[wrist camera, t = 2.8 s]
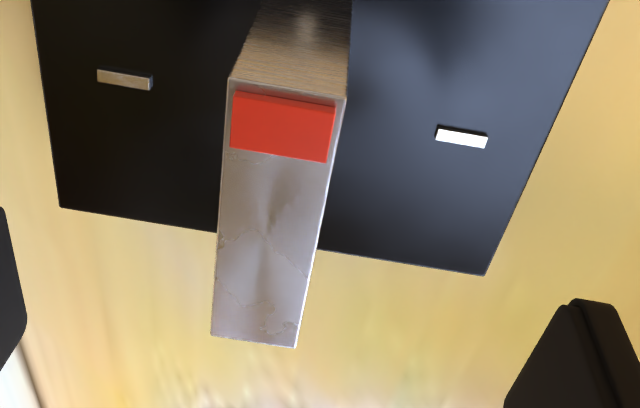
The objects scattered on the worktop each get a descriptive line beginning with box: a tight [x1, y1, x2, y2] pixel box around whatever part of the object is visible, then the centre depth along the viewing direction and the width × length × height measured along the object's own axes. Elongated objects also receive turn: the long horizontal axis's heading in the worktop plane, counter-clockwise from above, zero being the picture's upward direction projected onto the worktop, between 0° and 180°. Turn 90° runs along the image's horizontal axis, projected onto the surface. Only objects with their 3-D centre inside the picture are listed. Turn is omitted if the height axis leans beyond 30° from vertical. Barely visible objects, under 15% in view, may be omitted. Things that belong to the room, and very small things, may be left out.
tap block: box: [30, 0, 610, 276], centre depth 17 cm, size 14×11×3 cm
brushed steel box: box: [210, 0, 353, 348], centre depth 14 cm, size 6×2×6 cm, turn 171°
